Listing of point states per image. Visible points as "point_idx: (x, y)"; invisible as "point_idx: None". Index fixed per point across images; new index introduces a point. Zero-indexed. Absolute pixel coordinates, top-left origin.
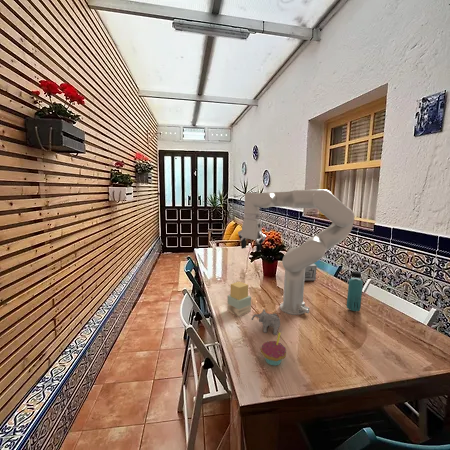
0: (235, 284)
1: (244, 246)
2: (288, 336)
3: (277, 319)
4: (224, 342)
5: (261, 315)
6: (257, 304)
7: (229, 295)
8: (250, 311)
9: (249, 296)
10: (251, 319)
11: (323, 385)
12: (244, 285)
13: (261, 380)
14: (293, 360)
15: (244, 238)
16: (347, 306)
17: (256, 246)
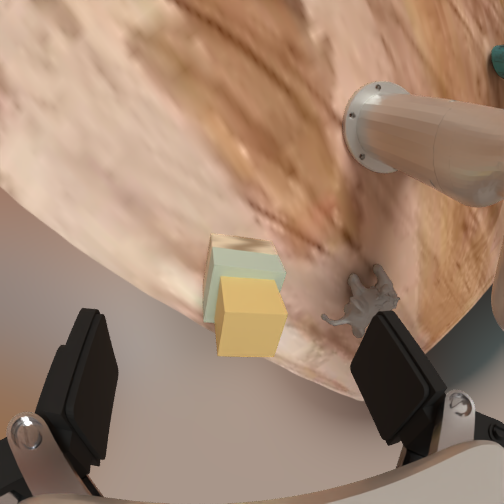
0: (237, 347)
1: (106, 361)
2: (401, 277)
3: (395, 307)
4: (292, 371)
5: (362, 336)
6: (263, 174)
7: (208, 317)
8: (271, 241)
9: (279, 275)
10: (321, 317)
11: (441, 333)
12: (277, 330)
13: None
14: (411, 325)
15: (43, 462)
16: (498, 68)
17: (377, 419)
